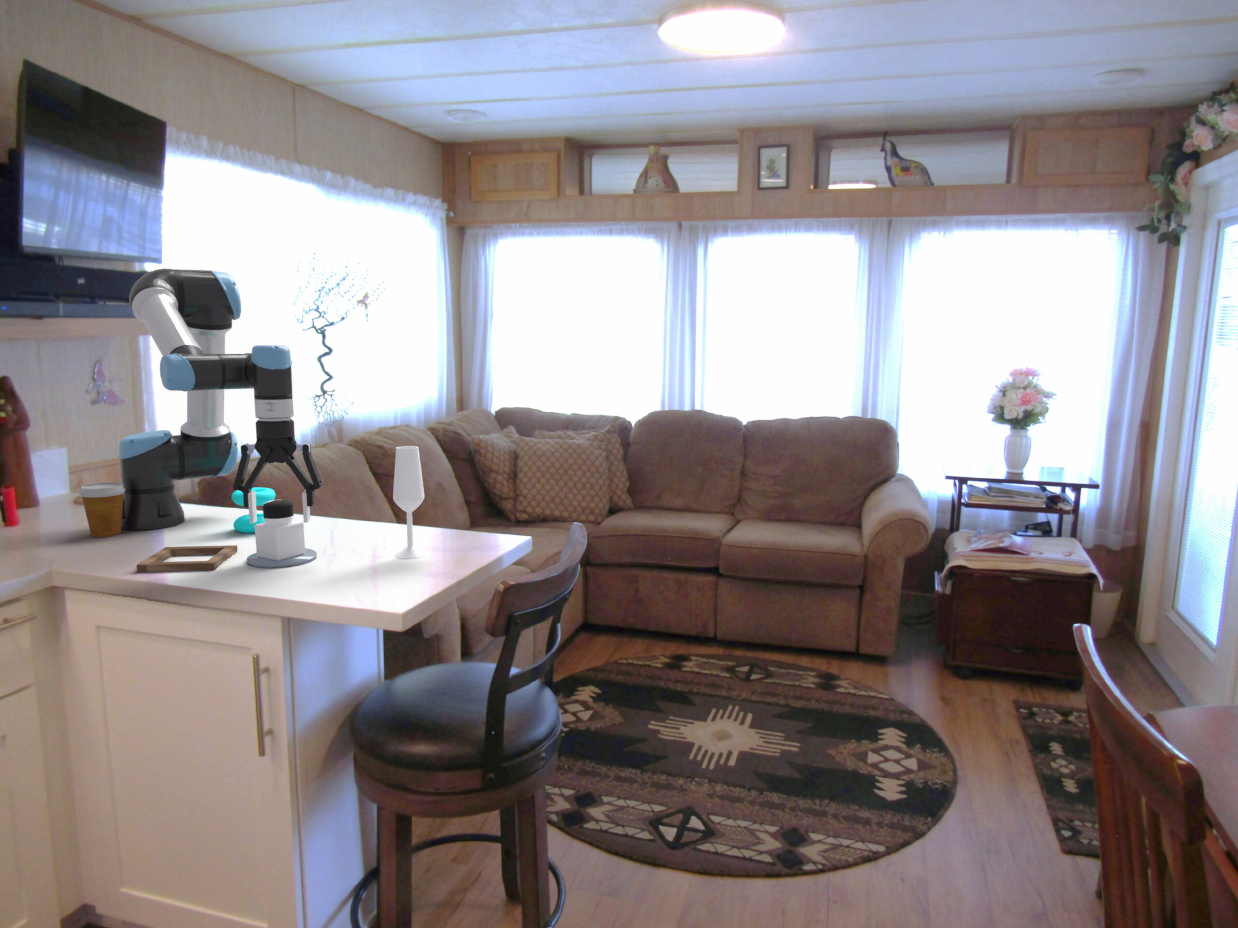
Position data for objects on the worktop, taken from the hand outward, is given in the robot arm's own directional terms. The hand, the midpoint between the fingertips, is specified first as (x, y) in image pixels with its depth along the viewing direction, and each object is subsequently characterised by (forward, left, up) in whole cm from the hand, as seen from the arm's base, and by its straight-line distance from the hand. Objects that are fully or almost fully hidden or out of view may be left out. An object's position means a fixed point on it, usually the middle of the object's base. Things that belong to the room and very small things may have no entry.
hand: (280, 521), depth 181 cm
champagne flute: (-1, +27, -9) cm, 28 cm away
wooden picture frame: (0, -19, -8) cm, 21 cm away
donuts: (-30, -14, -9) cm, 34 cm away
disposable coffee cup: (-28, -48, -9) cm, 56 cm away
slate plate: (0, 0, -8) cm, 8 cm away
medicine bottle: (0, 0, -8) cm, 8 cm away
